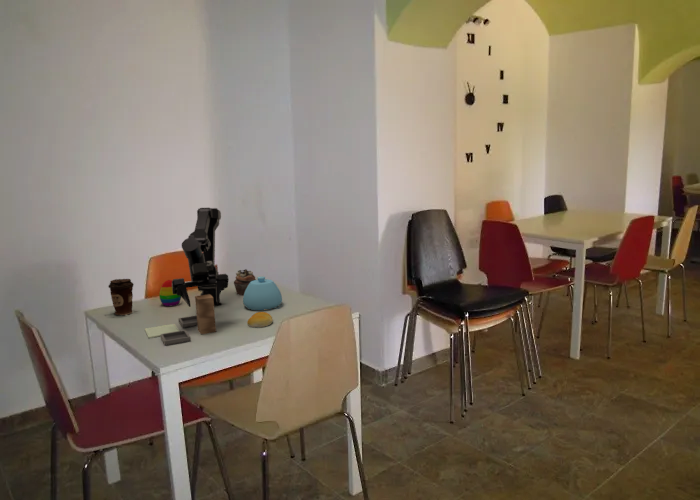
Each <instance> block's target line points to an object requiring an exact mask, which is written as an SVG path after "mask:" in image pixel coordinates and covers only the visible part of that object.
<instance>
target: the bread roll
mask: <svg viewBox="0 0 700 500" xmlns="http://www.w3.org/2000/svg"><path fill="white" fill-rule="evenodd" d="M273 321H274V319H273V316H272V315H271V314H270V313H268V312H266V311H258V312H255V313H254V314H252V315H251V317H249V318H248V320H247V321H246V323H247V325H248V327H252V328H254V327H260V328H265V326H266V327H268V325H269V326H270V325H271V324H272V323H273Z"/></svg>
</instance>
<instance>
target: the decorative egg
mask: <svg viewBox="0 0 700 500" xmlns="http://www.w3.org/2000/svg"><path fill="white" fill-rule="evenodd" d="M172 280H173V279H167V280H165V281H164V282H163V283H162V284H161V287H160V290H159V293H158V294H159V300H160V303H161V304H162V305H163V306H165V307H174V306H177V305H178V304H179V303H180V302H181V299H182V297H181V296H178V295H177V294H173V292H172Z"/></svg>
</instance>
